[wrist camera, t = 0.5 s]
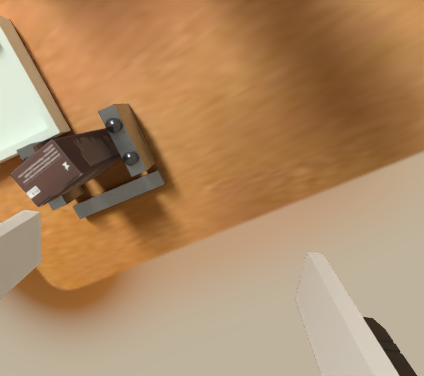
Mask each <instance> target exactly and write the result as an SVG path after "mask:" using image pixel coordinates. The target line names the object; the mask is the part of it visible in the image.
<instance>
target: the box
mask: <svg viewBox="0 0 424 376" xmlns="http://www.w3.org/2000/svg"><path fill="white" fill-rule="evenodd" d="M121 158H122V157H121V155H120V153H119V151H118V149H117V148H116V146H115V144H114V142H113V140H112V138H111V136H110V134H109V132H108V130H107V129H106V128H105V129H100V130H95V131H90V132H86V133H81V134H76V135H71V136H66V137H62V138H56V139H52V140H50V141H49V142H48V143H46V144H45V145H44V146H43V147H41V148H40V149H39V150H37V151H36V152H35V153H34V154H33V155H32V156H30V157H29V158H28V159H27V160H25V161H24V162H23V163H22V164H20V165H19V166H18V167H17V168H16V169H15V170H13V171H12V172H11V173H10V175H11V176H12V177H13V179H14V180H15V181H16V182H17V183H18V185H19V186H20V187H21V188H22V189H23V190H24V191H25V192H26V194H27V195H28V196H29V197H30V198H31V199H32V201H33V202H34V203H35V204H36V205H37V206H38V207H40V206H42V205H44V204H46V203H48V202H50V201H52V200H54V199H56V198H57V197H59V196H61V195H63V194H65V193H67V192H69V191H71V190H73V189H75V188H76V187H78V186H80V185H82V184H84V183H86V182H88V181H89V180H91V179H93V178H95V177H96V176H98V175H99V174H101V173H102V172H103V171H105V170H106V169H108V168H109V167H110V166H112V165H113V164H114V163H116V162H117V161H118V160H120V159H121Z"/></svg>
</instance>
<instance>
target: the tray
mask: <svg viewBox="0 0 424 376" xmlns="http://www.w3.org/2000/svg"><path fill="white" fill-rule="evenodd" d="M69 131H71V130H70V128H69V126H68V124H67V123H66V121H65V119H64V117H63V115H62V113H61V112H60V110H59V108H58V106H57V104H56V103H55V101H54V99H53V97H52V95H51V94H50V92H49V90H48V88H47V86H46V84H45V83H44V81H43V79H42V77H41V75H40V74H39V72H38V70H37V68H36V66H35V65H34V63H33V61H32V59H31V57H30V55H29V54H28V52H27V50H26V48H25V46H24V45H23V43H22V41H21V39H20V37H19V35H18V34H17V32H16V30H15V28H14V26H13V25H12V23H11V21H10V19H8V18H5V17H2V16H0V163H3V162H5V161H7V160H9V159H11V158H13V157H15V156H18V155H19V154H18V153H17V151H16V150H18V149H20V148H22V147H24V146H26V145H29V144H31V143H35V142H40V141H44V140H49V139H53V138H56V137H58V136H60V135H62V134H65V133H67V132H69Z"/></svg>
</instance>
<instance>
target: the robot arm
mask: <svg viewBox="0 0 424 376" xmlns="http://www.w3.org/2000/svg"><path fill="white" fill-rule="evenodd" d="M41 262H42V247H41V222H40V212H36V211H29V210H23V211H21V212H20V213H18V214H16V215H14V216H13V217H11V218H9V219H7V220H6V221H4V222H2V223H0V299H1V298H2V297H3V296H4V295H5V294H6V293H8V292H9V291H10V290H11V289H12V288H13V287H14V286H15V285H16V284H18V283H19V282H20V281H21V280H22V279H23V278H24V277H25V276H26V275H27V274H29V273H30V272H31V271H32V270H33V269H34V268H35V267H36V266H37V265H39V264H40V263H41ZM295 301H296V304H297V307H298V310H299V313H300V316H301V318H302V321H303V324H304V327H305V330H306V333H307V336H308V339H309V341H310V344H311V347H312V350H313V353H314V356H315V358H316V361H317V364H318V367H319V370H320V373H321V376H417V375H416V373H415V372H414V370H413V369H412V368H411V366H410V365H409V363H408V362H407V360H406V359H405V357H404V356H403V355H402V354H401V353H400V350H399V349H398V347H397V346H396V344H394V343H393V340H392V339H391V337H390V336H389V335H388V333H387V332H386V330H385V329H384V328H383V327H382V326H381V325H380V324H378V323H377V322H376V321H375V320H374V319H373V318H366V317H362V315H361V314H360V312H359V311H358V309H357V307H356V306H355V304H354V303H353V301H352V300H351V298H350V296H349V295H348V293H347V291H346V290H345V288H344V287H343V285H342V284H341V282H340V280H339V279H338V277H337V276H336V274H335V272H334V271H333V269H332V268H331V266H330V264H329V263H328V261H327V260H326V258H325V256H324V255H323V254H322V253H315V252H307V254H306V258H305V261H304V265H303V269H302V273H301V276H300V280H299V283H298V287H297V291H296V295H295Z"/></svg>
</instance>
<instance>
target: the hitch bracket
mask: <svg viewBox="0 0 424 376" xmlns="http://www.w3.org/2000/svg"><path fill="white" fill-rule="evenodd" d="M98 113H99V115H100V117H101V119H102V120H103V122H104V124H105V126H106V129H107V130H108V132H109V134H110V136H111V138H112V140H113V142H114V144H115V146H116V148H117V149H118V151H119V153H120V155H121V157H122V159H123V162H124V163H125V165H126V167H127V169H128V171H129V173H130V175H131V176H132V177H133V176H135V175H137V174H140V173H142V172H144V171H147V170H148V169H149V168H150V167H151V166H152V165H153V164H155V163H156V159H155V157H154V155H153V153H152V151H151V149H150V147H149V145H148V143H147V141H146V139H145V137H144V135H143V133H142V131H141V129H140V127H139V125H138V122H137V120H136V118H135V116H134V114H133V112H132V110H131V108H130V106H129V104H113V105H111V106H109V107H107V108H105V109H103V110H101V111H99V112H98ZM53 139H55V138H53ZM50 140H52V139H49V140H44V141H40V142H35V143H31V144H29V145H26V146H24V147H22V148H20V149H18V150H16V151H17V153H18V154H19V156H20V157H21V159H22V161H23V162H24V161H25V160H27V159H28V158H29V157H30V156H32V155H33V154H34V153H35V152H36V151H37V150H39V149H40V148H41V147H43V146H44V145H45V144H46V143H48V142H49V141H50ZM165 183H166V180H165V178H164V176H163V174H162V172H161V170H160V169H157V170H155V171H153V172H150V173H148V174H146V175H143V176H141V177H138V178H136V179H134V180H131V181H129V182H127V183H124V184H122V185H119V186H117V187H115V188H112V189H110V190H108V191H105V192H103V193H101V194H98V195H96V196H93V197H91V198H89V199H86V200H84V201H82V202H79V203H77V204H75V205H74V206H73V208H74V210H75V211H76V213H77V215H78V216H79V218H80V219H82V218H84V217H86V216H89V215H91V214H94V213H96V212H99V211H101V210H103V209H106V208H108V207H111V206H113V205H116V204H118V203H120V202H123V201H125V200H128V199H130V198H133V197H135V196H138V195H140V194H142V193H145V192H147V191H150V190H152V189H155V188H157V187H159V186H162V185H164V184H165ZM83 193H85V190H84V188H83V187H82V185H80V186H78V187H76V188H75V189H73V190H71V191H69V192H67V193H65V194H63V195H61V196H59V197H57V198H56V199H54V200H52V201H50V202H48V203H49V205H50V206H51V208H52V210H55V209H57V208H59V207H62V206H64V205H67V204H68V203H70V202H71V201H73V200H74V199H76V198H77V197H79V196H80V195H82V194H83Z"/></svg>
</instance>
